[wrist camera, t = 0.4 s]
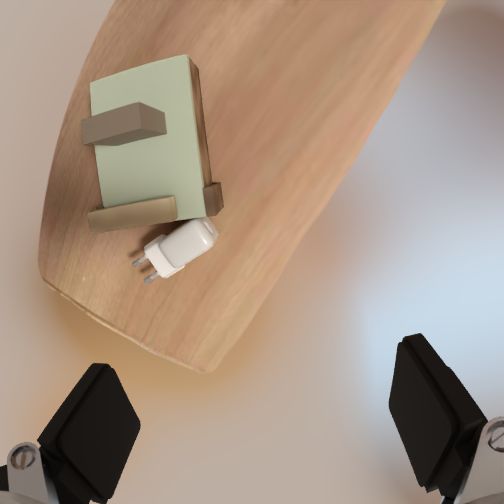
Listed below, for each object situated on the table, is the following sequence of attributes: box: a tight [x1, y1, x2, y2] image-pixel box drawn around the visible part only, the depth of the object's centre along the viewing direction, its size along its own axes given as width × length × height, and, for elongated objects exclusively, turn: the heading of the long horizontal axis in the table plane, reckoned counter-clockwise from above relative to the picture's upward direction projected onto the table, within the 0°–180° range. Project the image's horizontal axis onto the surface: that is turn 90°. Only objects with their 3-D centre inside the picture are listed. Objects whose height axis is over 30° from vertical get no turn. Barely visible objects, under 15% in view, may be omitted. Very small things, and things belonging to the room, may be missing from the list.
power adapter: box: [132, 217, 219, 283], centre depth 36 cm, size 11×5×6 cm, turn 122°
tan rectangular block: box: [87, 196, 178, 234], centre depth 30 cm, size 2×10×2 cm, turn 97°
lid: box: [81, 54, 207, 221], centre depth 26 cm, size 18×12×8 cm, turn 7°
